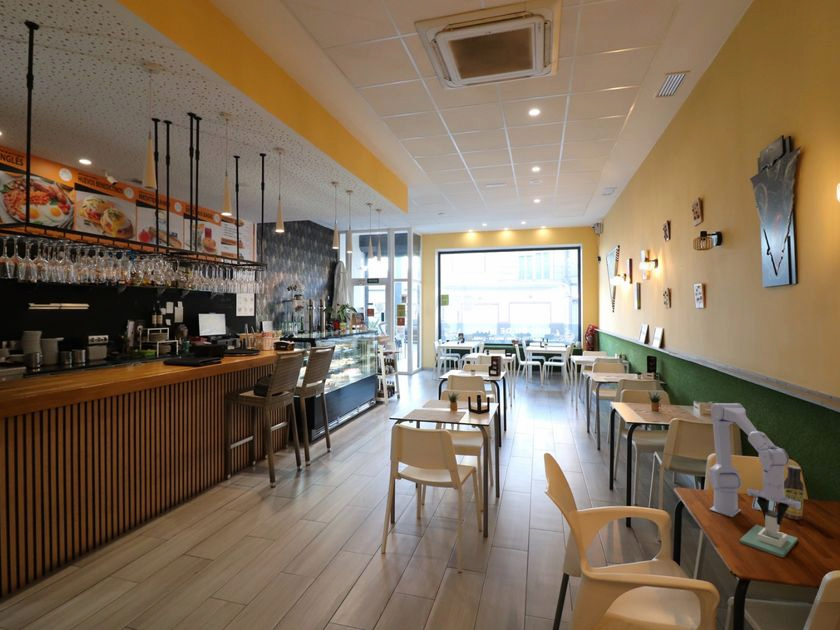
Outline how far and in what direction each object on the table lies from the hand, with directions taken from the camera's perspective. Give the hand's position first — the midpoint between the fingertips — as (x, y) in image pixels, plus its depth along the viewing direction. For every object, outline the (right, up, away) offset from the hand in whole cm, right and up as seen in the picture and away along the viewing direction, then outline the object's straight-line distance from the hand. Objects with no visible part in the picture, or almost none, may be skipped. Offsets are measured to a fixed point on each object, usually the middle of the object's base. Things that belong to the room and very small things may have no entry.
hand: (772, 522), depth 152 cm
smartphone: (+21, -8, +30) cm, 37 cm away
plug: (-1, -3, -1) cm, 3 cm away
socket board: (-1, -7, 0) cm, 7 cm away
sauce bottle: (+24, -8, +19) cm, 31 cm away
